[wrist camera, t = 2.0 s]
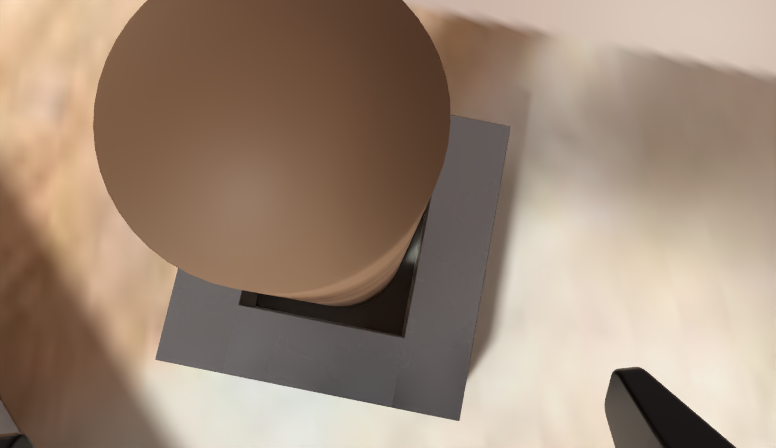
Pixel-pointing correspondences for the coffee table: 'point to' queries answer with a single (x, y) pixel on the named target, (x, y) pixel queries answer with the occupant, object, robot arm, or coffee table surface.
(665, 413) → the robot arm
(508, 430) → the coffee table surface
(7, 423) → the tray
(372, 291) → the pin
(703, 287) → the coffee table surface
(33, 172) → the coffee table surface
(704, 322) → the coffee table surface
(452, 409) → the gray square socket plate
